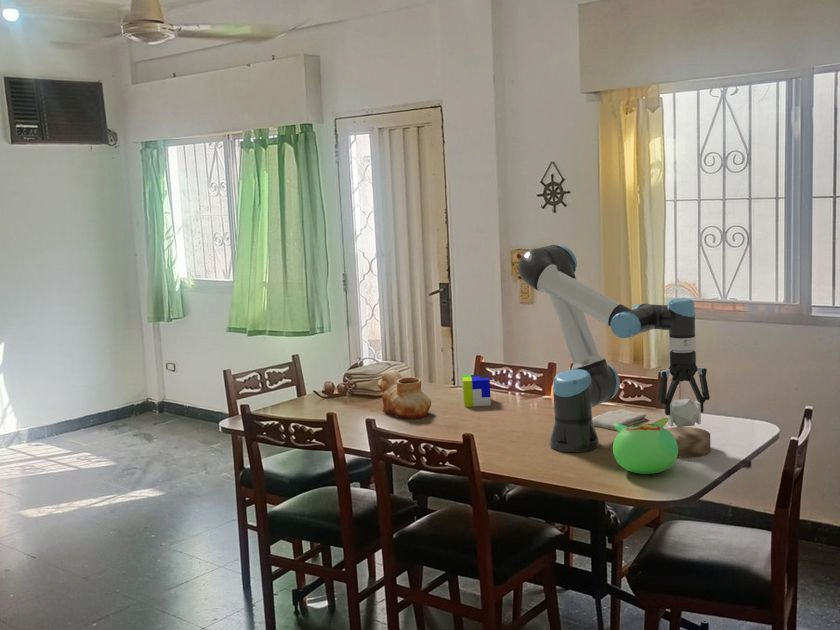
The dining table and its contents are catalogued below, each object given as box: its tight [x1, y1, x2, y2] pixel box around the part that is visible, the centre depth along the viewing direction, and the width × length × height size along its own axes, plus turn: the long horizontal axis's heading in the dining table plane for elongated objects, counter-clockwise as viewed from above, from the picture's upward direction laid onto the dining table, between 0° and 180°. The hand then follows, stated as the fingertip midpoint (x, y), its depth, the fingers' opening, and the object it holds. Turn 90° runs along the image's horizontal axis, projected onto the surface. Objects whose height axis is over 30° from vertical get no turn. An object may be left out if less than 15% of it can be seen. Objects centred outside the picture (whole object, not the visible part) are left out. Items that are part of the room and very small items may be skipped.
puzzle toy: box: [461, 373, 492, 408], centre depth 349 cm, size 10×10×10 cm
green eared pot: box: [612, 417, 678, 475], centre depth 259 cm, size 18×17×15 cm
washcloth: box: [592, 408, 647, 431], centre depth 311 cm, size 12×18×3 cm, turn 132°
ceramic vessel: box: [377, 369, 432, 419], centre depth 342 cm, size 14×26×15 cm, turn 34°
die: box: [671, 398, 700, 427], centre depth 275 cm, size 8×9×10 cm
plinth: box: [665, 426, 712, 459], centre depth 277 cm, size 15×15×5 cm
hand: (684, 424), depth 276 cm, fingers closed on die, 8 cm apart
